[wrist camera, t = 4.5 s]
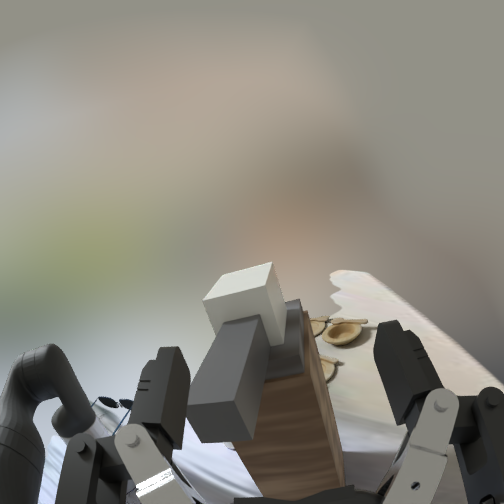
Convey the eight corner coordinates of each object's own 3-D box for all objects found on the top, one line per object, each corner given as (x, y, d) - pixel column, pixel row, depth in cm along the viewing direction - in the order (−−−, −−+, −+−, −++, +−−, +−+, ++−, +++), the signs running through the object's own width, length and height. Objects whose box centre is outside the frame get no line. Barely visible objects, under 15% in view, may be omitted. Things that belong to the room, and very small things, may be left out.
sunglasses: (144, 411, 73) (135, 399, 71) (120, 449, 59) (109, 437, 58) (106, 406, 78) (97, 395, 77) (82, 438, 65) (72, 427, 64)
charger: (272, 437, 16) (240, 361, 15) (185, 443, 17) (144, 374, 16) (287, 309, 35) (272, 261, 34) (238, 320, 36) (222, 275, 35)
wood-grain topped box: (347, 514, 30) (304, 354, 24) (280, 522, 32) (196, 374, 26) (342, 451, 43) (303, 295, 38) (287, 460, 45) (228, 313, 40)
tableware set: (310, 402, 60) (306, 389, 60) (229, 374, 82) (224, 363, 82) (379, 323, 83) (377, 311, 82) (303, 317, 105) (300, 307, 104)
